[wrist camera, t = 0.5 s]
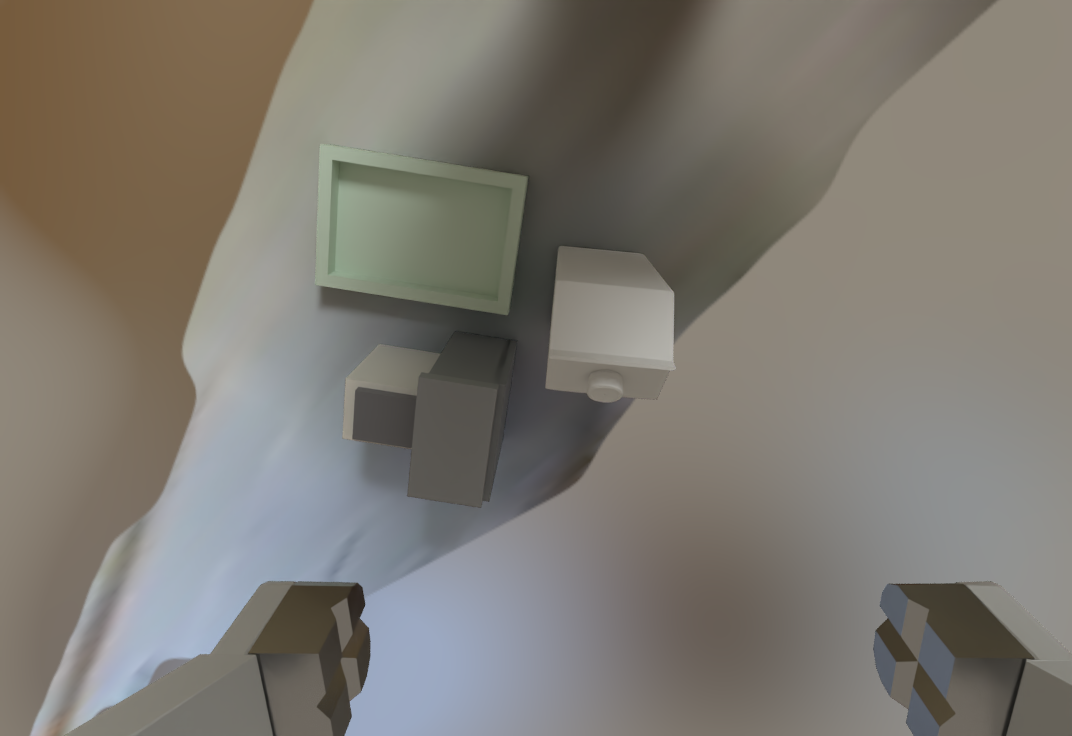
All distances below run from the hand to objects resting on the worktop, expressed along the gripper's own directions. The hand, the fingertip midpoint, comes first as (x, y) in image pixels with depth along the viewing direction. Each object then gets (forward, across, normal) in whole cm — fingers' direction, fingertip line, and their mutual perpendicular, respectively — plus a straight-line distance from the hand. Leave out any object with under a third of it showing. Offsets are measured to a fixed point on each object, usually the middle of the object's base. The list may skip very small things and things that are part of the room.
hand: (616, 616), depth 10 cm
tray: (+44, +12, -2) cm, 46 cm away
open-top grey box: (+44, +9, +12) cm, 47 cm away
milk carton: (+44, -2, +4) cm, 44 cm away
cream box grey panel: (+44, +13, +11) cm, 47 cm away
